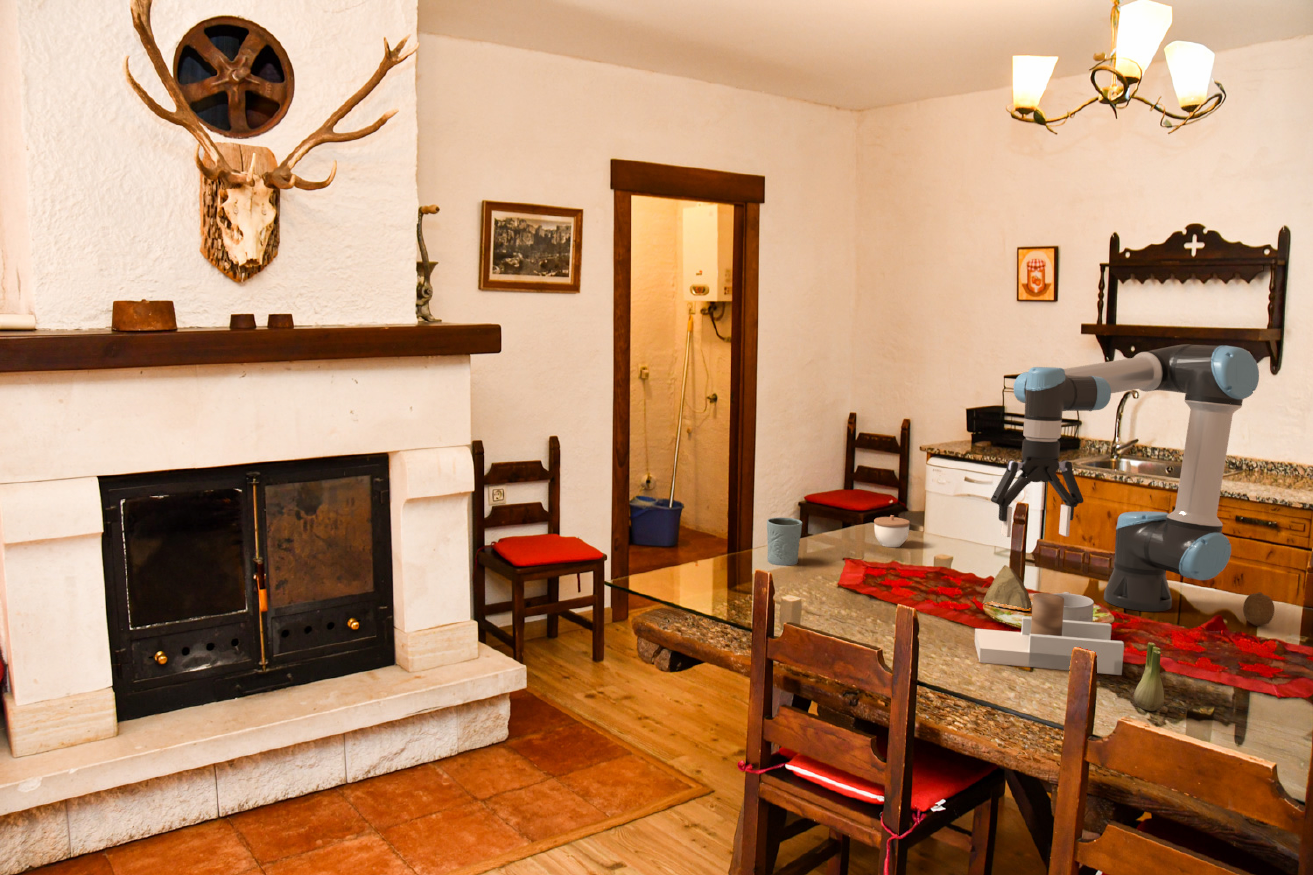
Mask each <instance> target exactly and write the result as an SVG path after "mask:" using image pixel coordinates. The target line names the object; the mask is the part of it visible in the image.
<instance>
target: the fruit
mask: <svg viewBox="0 0 1313 875" xmlns="http://www.w3.org/2000/svg"><path fill="white" fill-rule="evenodd" d="M1242 610H1243V611H1242V612H1243V615H1244V617H1245V619H1246V621H1248V623H1250V624H1252V625H1253V626H1254V627H1262V626H1265V625H1268V624H1269V623H1270V622H1271V621H1272V619H1273V617H1274V614H1275V605H1274V602H1273V600H1272V598H1271V596H1268V595H1265V594H1264V593H1262V592H1257V593H1251V594H1249V595H1248V596H1247V597H1246V598H1245V600H1244V602H1243V607H1242Z"/></svg>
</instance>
